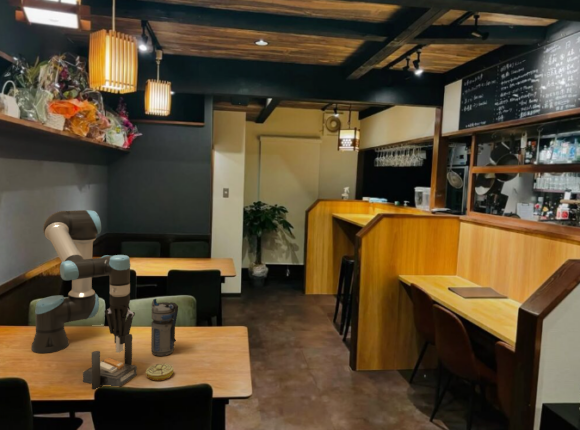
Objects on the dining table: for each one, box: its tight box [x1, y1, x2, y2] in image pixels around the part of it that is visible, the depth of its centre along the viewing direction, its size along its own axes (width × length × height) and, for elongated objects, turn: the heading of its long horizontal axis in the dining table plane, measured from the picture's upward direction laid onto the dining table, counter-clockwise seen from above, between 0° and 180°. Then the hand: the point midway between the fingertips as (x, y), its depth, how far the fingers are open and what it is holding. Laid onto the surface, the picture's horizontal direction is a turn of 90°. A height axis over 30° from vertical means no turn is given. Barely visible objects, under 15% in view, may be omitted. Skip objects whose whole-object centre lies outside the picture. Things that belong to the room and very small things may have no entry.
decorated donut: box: [145, 363, 174, 381], centre depth 172 cm, size 10×11×4 cm
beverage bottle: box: [150, 298, 179, 357], centre depth 194 cm, size 10×13×25 cm
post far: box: [123, 333, 133, 365], centre depth 179 cm, size 3×3×14 cm
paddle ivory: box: [100, 361, 117, 373], centre depth 166 cm, size 8×3×1 cm, turn 74°
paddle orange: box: [103, 357, 124, 369], centre depth 170 cm, size 8×3×1 cm, turn 74°
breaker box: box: [82, 359, 138, 387], centre depth 168 cm, size 16×12×5 cm
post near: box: [91, 350, 101, 390], centre depth 160 cm, size 3×3×14 cm
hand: (119, 351), depth 169 cm, fingers closed
